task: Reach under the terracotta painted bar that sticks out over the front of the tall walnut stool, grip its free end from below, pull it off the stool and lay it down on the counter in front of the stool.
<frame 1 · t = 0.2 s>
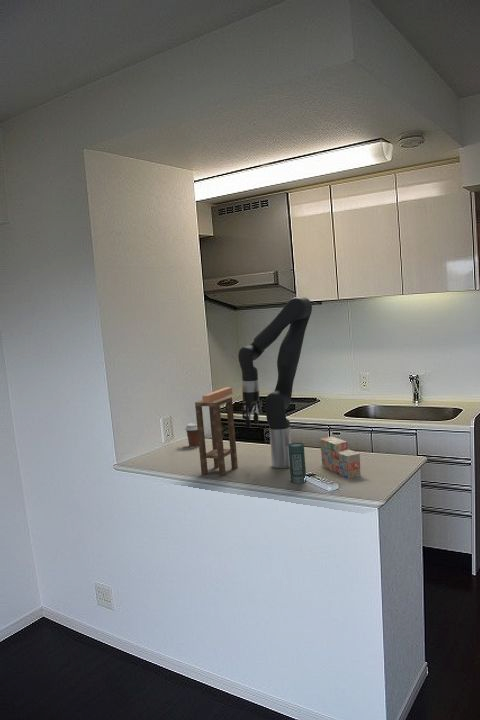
hand: (252, 425, 256), 18 cm above the countertop, tool pointing down, fingers open, 8 cm apart
stool: (219, 471, 250), on the countertop
can: (298, 481, 228), on the countertop
coffee cup: (195, 446, 297), on the countertop
bar: (218, 398, 250), point 32 cm above the countertop, touching stool
stack of blocks: (340, 471, 237), on the countertop
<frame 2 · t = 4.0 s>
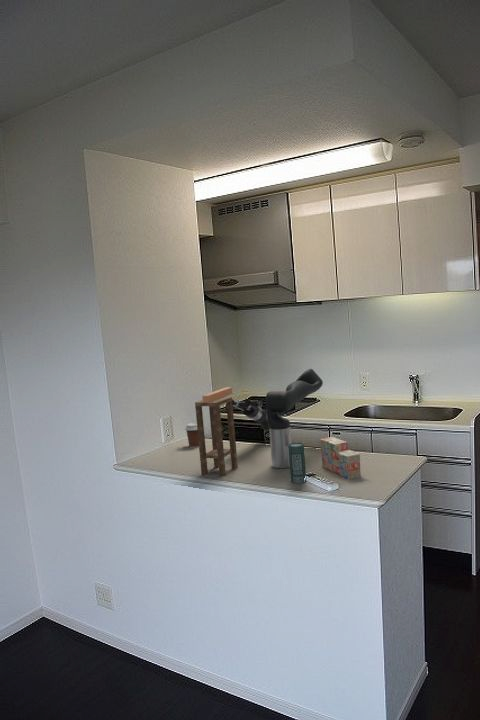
hand: (237, 400, 266), 27 cm above the countertop, tool pointing upward, fingers open, 8 cm apart
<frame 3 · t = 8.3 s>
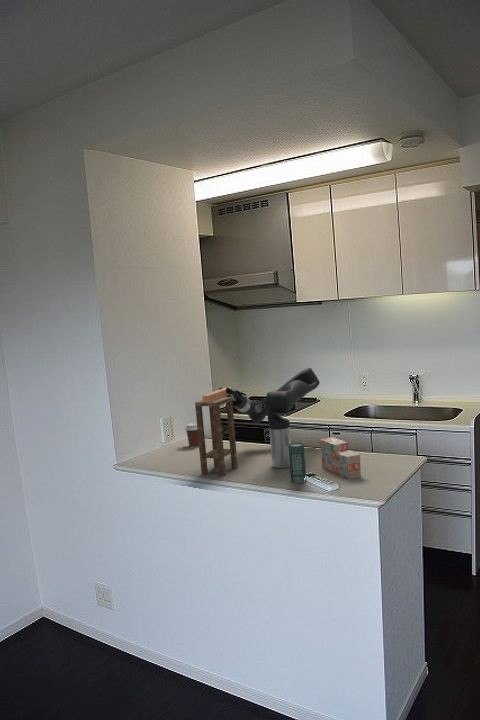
hand: (223, 389, 254), 35 cm above the countertop, tool pointing upward, fingers closed on bar, 3 cm apart
bar: (218, 398, 250), point 32 cm above the countertop, touching gripper, stool
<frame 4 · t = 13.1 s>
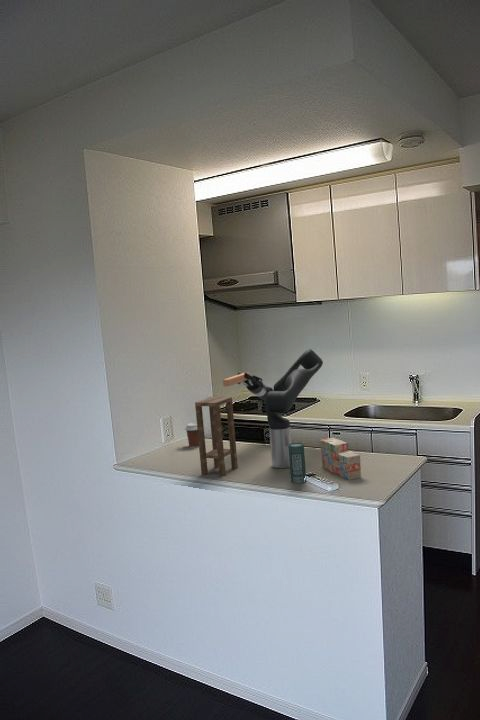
hand: (241, 374, 270), 39 cm above the countertop, tool pointing upward, fingers closed on bar, 3 cm apart
bar: (237, 382, 266), point 36 cm above the countertop, touching gripper
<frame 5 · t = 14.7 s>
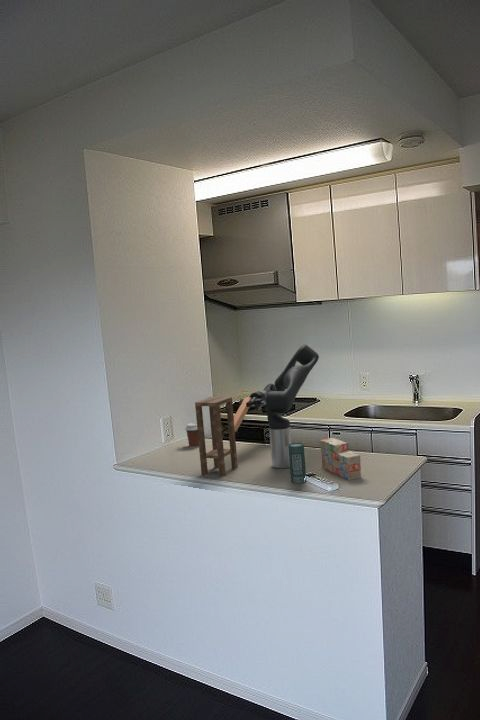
hand: (243, 404, 271), 24 cm above the countertop, tool horizontal, fingers closed on bar, 3 cm apart
bar: (241, 416, 269), point 19 cm above the countertop, tilted 29°, touching gripper
when the fingers open (12 cm above the countertop, at t = 17.9 s): bar drops 8 cm, on the countertop.
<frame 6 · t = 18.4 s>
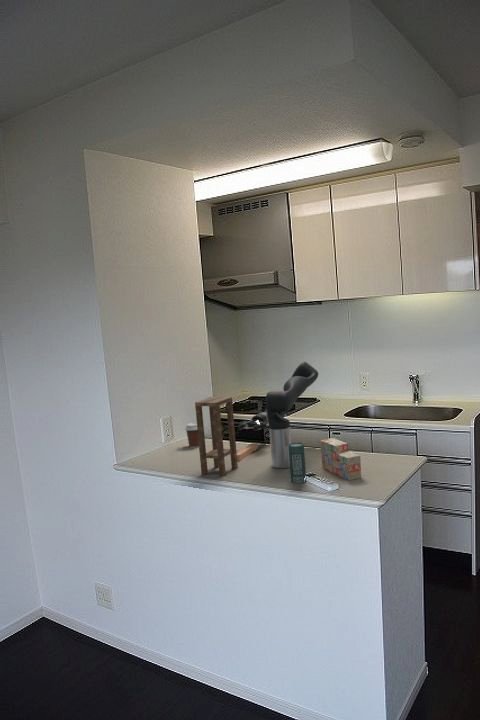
hand: (246, 428, 273), 12 cm above the countertop, tool horizontal, fingers open, 8 cm apart
bar: (246, 455, 274), on the countertop
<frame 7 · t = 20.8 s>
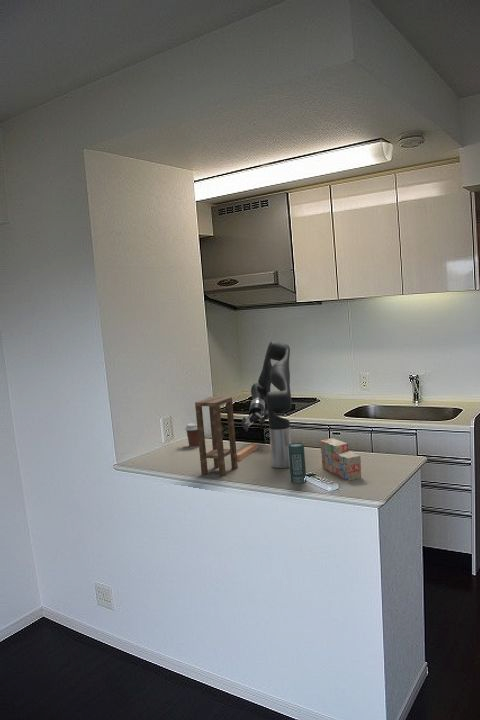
hand: (253, 427, 277), 12 cm above the countertop, tool tilted 65°, fingers open, 8 cm apart
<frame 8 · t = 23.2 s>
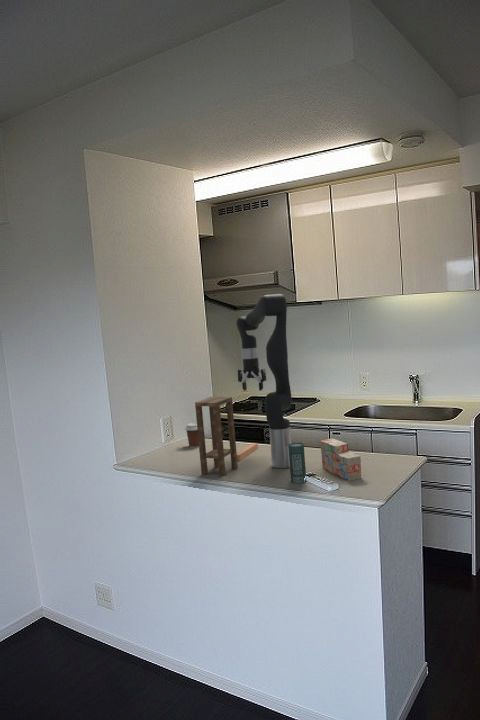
hand: (252, 390, 276), 30 cm above the countertop, tool pointing down, fingers open, 8 cm apart
at the end: bar inside the target area (0.9 cm from its centre), on the countertop; bar touching countertop; the gripper is holding nothing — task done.
